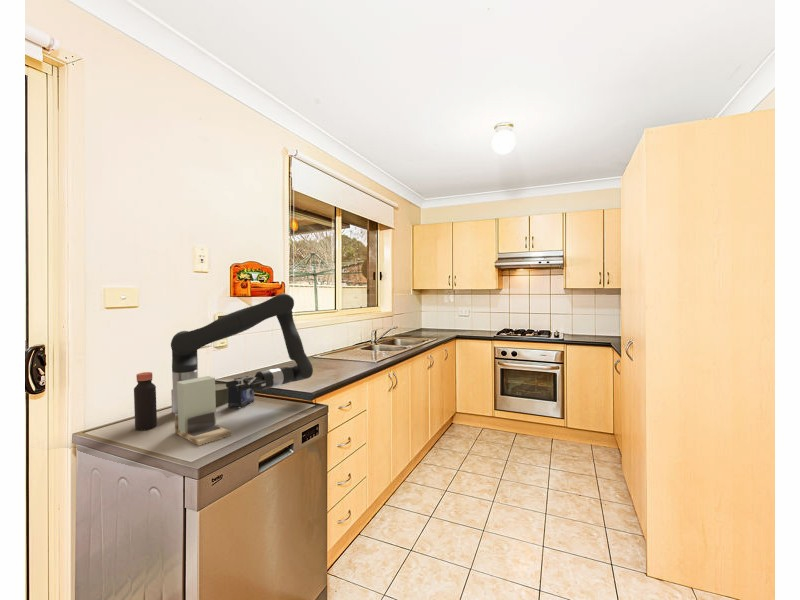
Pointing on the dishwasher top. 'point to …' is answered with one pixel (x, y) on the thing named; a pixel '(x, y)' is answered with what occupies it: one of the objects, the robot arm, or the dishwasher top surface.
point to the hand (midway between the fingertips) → (232, 386)
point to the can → (221, 394)
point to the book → (195, 399)
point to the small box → (239, 397)
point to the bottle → (145, 402)
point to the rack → (202, 429)
